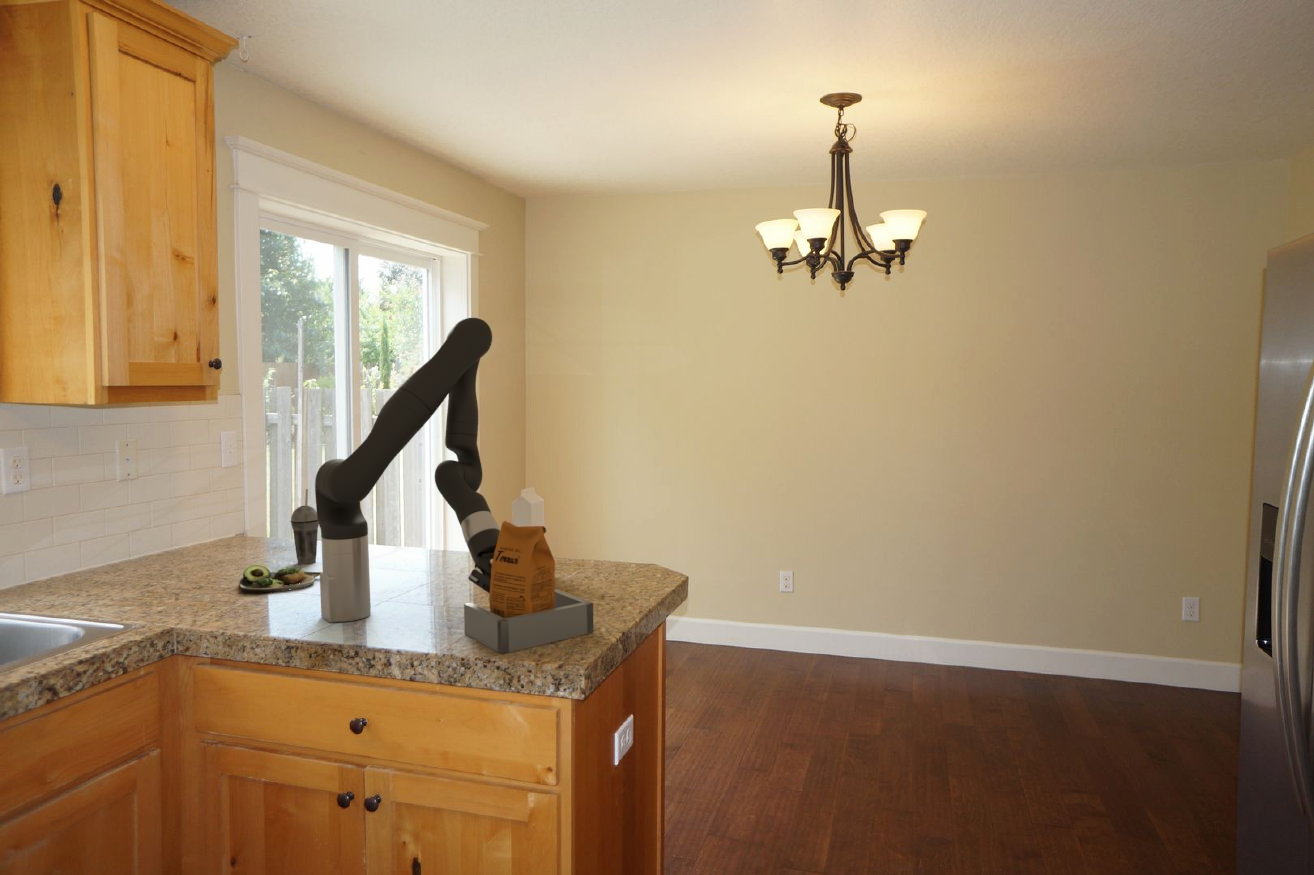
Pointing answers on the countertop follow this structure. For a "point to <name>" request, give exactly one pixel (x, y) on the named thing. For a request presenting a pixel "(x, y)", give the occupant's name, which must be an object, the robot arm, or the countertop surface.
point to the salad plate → (274, 579)
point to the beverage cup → (305, 533)
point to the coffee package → (522, 572)
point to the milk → (528, 509)
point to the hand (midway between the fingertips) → (512, 606)
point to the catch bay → (530, 624)
